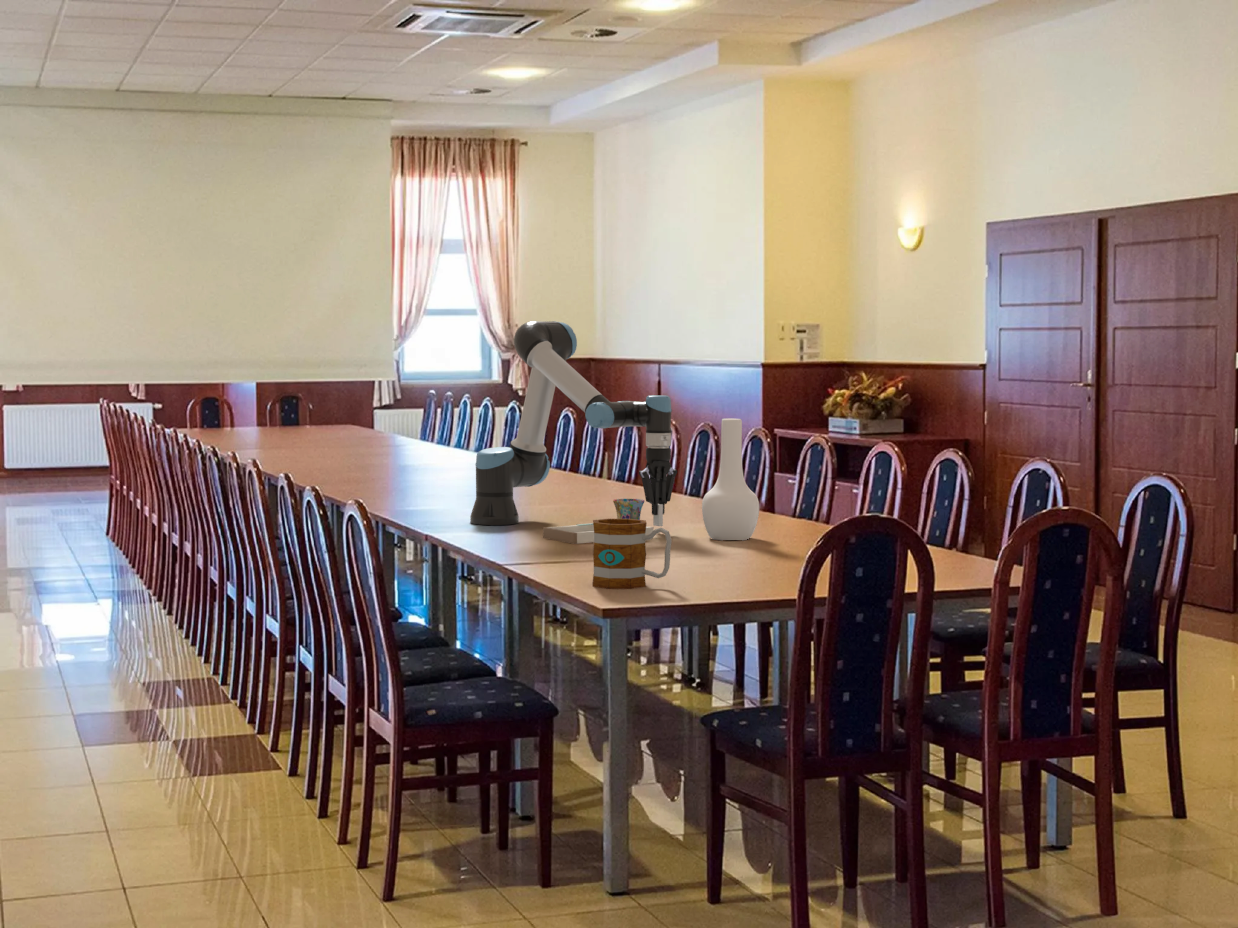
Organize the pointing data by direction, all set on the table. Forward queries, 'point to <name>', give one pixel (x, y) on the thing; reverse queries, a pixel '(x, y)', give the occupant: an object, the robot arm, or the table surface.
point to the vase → (730, 491)
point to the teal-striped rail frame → (575, 533)
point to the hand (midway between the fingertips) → (658, 525)
